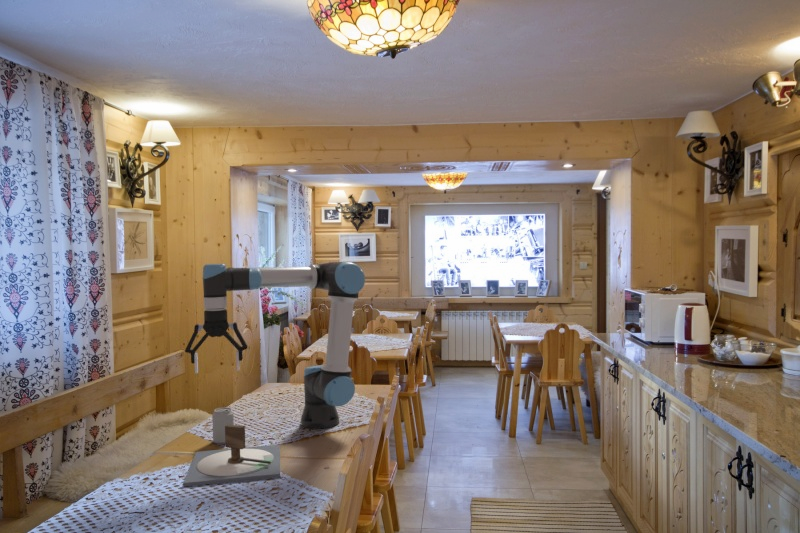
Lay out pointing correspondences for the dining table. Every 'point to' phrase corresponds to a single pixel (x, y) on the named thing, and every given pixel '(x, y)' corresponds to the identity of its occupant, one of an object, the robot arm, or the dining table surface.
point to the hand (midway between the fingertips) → (217, 371)
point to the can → (221, 423)
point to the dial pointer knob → (237, 444)
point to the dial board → (233, 466)
